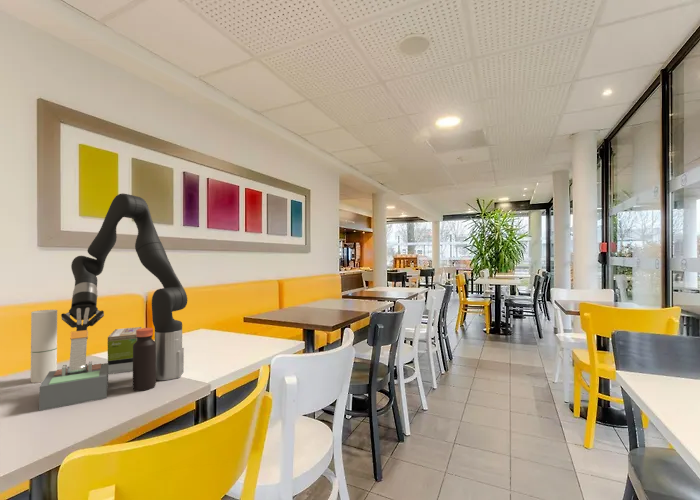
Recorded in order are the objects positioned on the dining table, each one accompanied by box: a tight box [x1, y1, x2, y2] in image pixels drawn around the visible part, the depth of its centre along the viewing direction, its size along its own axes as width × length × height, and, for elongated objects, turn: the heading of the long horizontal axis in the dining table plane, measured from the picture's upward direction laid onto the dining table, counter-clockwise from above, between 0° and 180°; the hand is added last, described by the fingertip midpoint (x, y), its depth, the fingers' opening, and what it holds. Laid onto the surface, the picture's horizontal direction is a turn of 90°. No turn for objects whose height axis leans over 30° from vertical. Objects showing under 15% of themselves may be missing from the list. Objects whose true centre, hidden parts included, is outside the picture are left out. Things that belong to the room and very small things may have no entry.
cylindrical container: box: [30, 309, 58, 384], centre depth 126 cm, size 7×7×25 cm
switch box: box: [38, 360, 109, 412], centre depth 111 cm, size 16×16×10 cm
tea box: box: [107, 326, 142, 375], centre depth 139 cm, size 15×10×15 cm
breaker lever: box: [67, 329, 89, 374], centre depth 113 cm, size 5×3×14 cm, turn 123°
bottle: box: [132, 327, 157, 392], centre depth 117 cm, size 7×7×20 cm
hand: (81, 335), depth 120 cm, fingers closed
